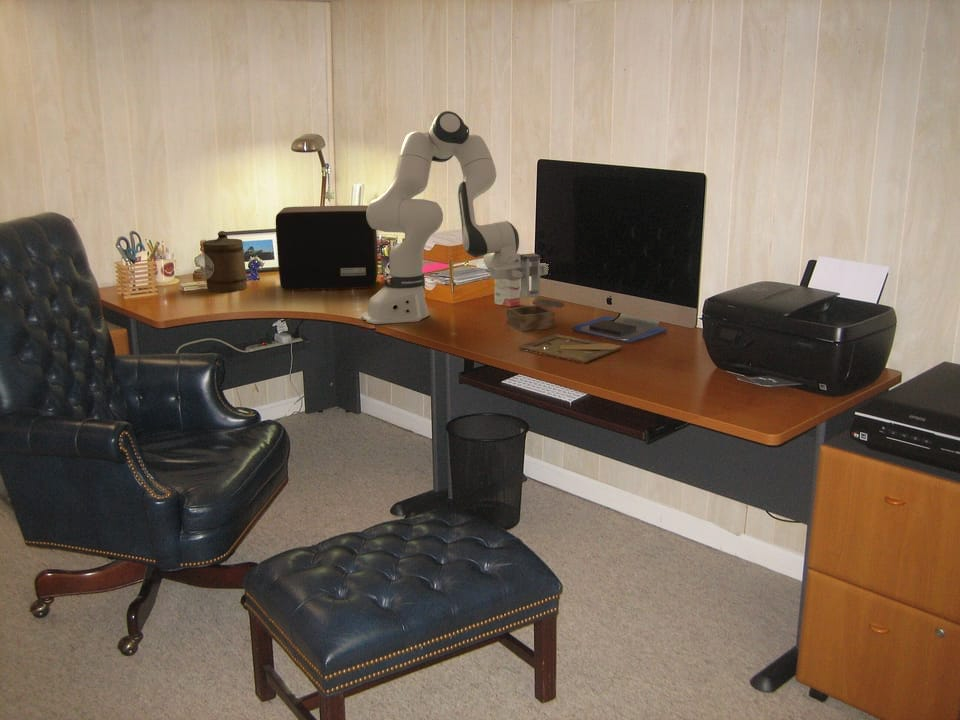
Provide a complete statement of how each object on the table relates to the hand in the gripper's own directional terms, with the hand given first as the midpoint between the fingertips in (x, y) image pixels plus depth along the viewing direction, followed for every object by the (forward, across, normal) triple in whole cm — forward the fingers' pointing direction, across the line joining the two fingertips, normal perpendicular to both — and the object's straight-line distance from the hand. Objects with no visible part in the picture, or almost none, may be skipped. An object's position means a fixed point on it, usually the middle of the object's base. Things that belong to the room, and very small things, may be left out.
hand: (531, 274), depth 297 cm
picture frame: (+29, -2, +18) cm, 34 cm away
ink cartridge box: (-31, +6, +17) cm, 36 cm away
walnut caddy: (-1, 0, +17) cm, 17 cm away
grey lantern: (-1, 0, +7) cm, 7 cm away
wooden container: (-103, -79, +18) cm, 131 cm away
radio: (-89, -42, +18) cm, 100 cm away
